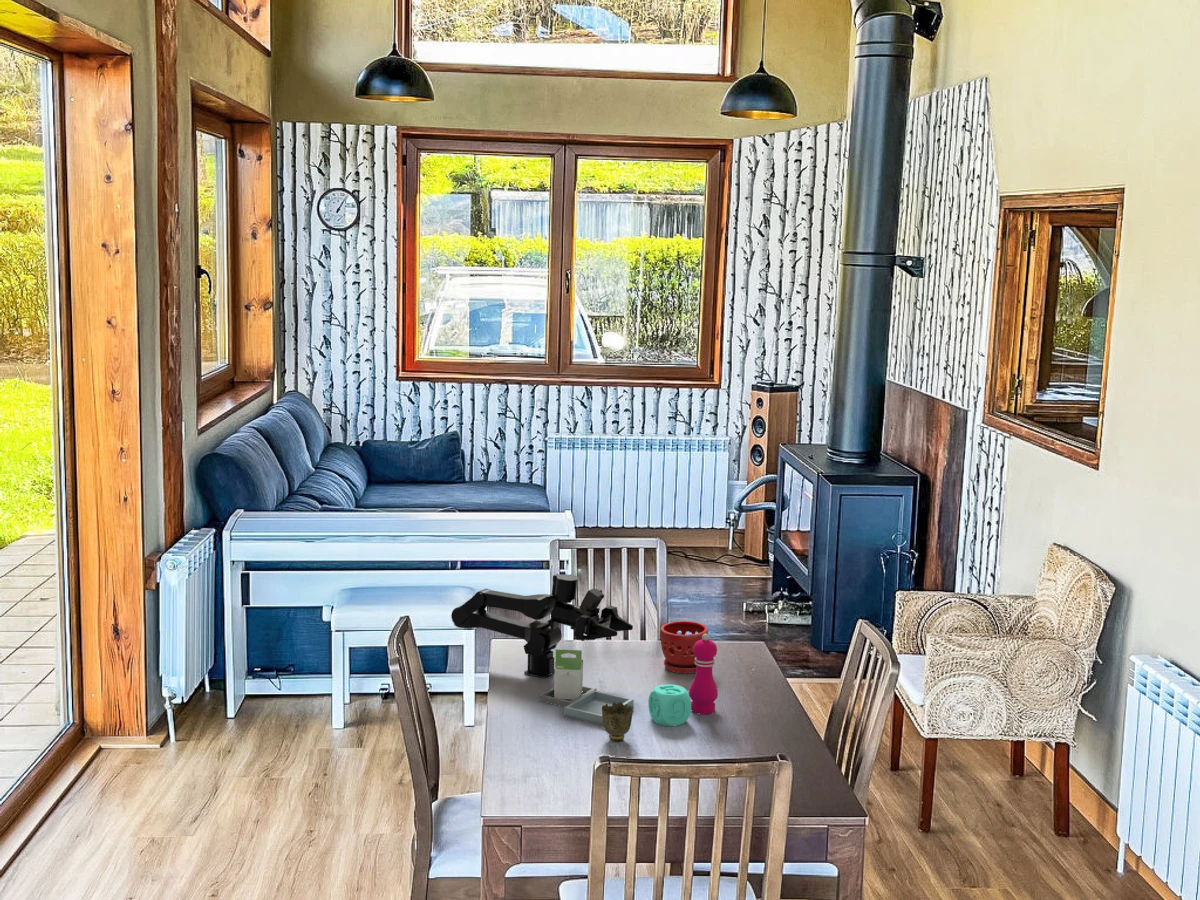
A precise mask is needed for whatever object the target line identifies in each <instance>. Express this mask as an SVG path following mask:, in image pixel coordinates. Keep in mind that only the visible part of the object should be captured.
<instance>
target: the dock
mask: <svg viewBox="0 0 1200 900" xmlns="http://www.w3.org/2000/svg"><path fill="white" fill-rule="evenodd" d="M593 690H595V691H598V690H597V687H592V686H587V685H583V684H582V691H583V692H582V695H581V696H579V697H577V698H576V699H574V700H567V699H558V698H554V687H552V688H550V689H548V690H547V691H545V692H543V693H541V694H540V695H539V702H541V701H542V703H545V702H548V703H547V704H550V703H552V704H551V705H554V704H556V705H555V706H558V705H560V706H559V707H563V706H565V707H566V706H568V705H569V704H571V703H573V702H575V701H576V700H578V699H580V698H581V697H583V696H585V695H586V694H588V693H590V692H592V691H593ZM584 692H586V693H584ZM552 695H553V696H552ZM550 696H551V697H550Z"/></svg>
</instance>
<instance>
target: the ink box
mask: <svg viewBox="0 0 1200 900" xmlns="http://www.w3.org/2000/svg"><path fill="white" fill-rule="evenodd" d="M565 654H572V655H574V656H575V657H572V656H571V657H569V656H568V657H565V656H562V655H565ZM582 654H583V652H582V650H579V649H578V650H577V649H558V648H555V661H554V669H555V672H554V677H553V679H554V680H553V681H554V682H553V686H554V687H553V688H554V695H553V697H554V698H558V699H563V700H567V701H572V700H574V699H576V698H577V697H579V696H581V695H582V694H583V692H582V685H583V680H584V679H583V678H584V677H583V676H584V659H582Z"/></svg>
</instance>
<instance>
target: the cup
mask: <svg viewBox="0 0 1200 900" xmlns="http://www.w3.org/2000/svg"><path fill="white" fill-rule="evenodd" d="M612 704H613V705H612V706H609V707H608V704H606V705H605V706H604V705H603V706H602V718H603V725H604V726H603V729H604V730H605V732H606V733H607V734H608V738H609V740H610V742H611V741H612V742H617V743H618V742H619V743H620V742H622V741H624V739H625V735H626V734H627V733H629V731H630V729H631V725H632V719H633V713H634V707H633V708H632V707H631V705H630V706H629V707H628V705H627V704H625V706H624V705H623V703H622V702H619V703H617V704H616V703H615V702H613V703H612Z"/></svg>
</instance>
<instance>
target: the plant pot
mask: <svg viewBox="0 0 1200 900" xmlns="http://www.w3.org/2000/svg"><path fill="white" fill-rule="evenodd" d="M678 632H680V633H681V634H678ZM687 632H689V633H691V634H687ZM696 632H697V633H696ZM703 634H708V635H709V628H708V627H707V626H706V625H705V624H703V623H701V622H695V621H689V620H688V621H687V620H680V621H671V622H668V623H665V624H663V625H662V626H660V633H659V635H660V646H661V651H662V654H663V656H664V660H663V665H664V667H665V668H666V669H667V670H669V671H670V672H673V673H678V674H686V673H687V674H686V675H688V674H693V673H696V664H695V658H696V656H695V655H694V653H693V647H694V644H695V643H696V642H697V641H698V640H701V639H702V636H703Z"/></svg>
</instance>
